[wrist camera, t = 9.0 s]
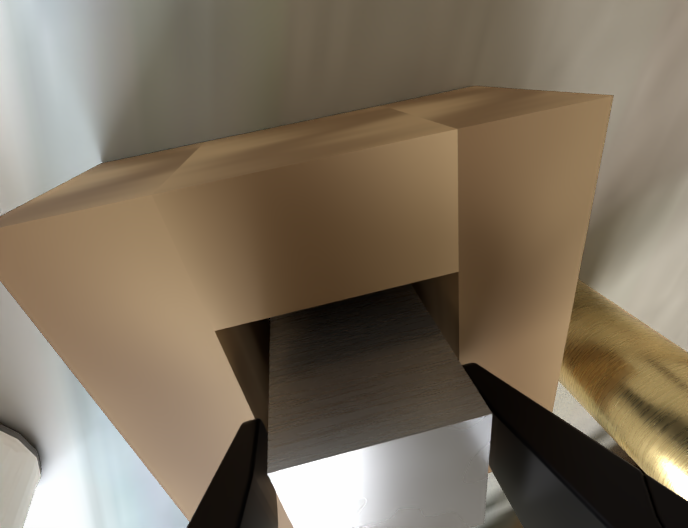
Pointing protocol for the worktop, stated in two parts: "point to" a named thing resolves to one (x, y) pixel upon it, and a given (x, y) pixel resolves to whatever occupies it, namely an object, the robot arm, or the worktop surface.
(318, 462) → the square bit
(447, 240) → the socket block
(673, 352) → the round dowel
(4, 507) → the cup
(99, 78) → the worktop surface
